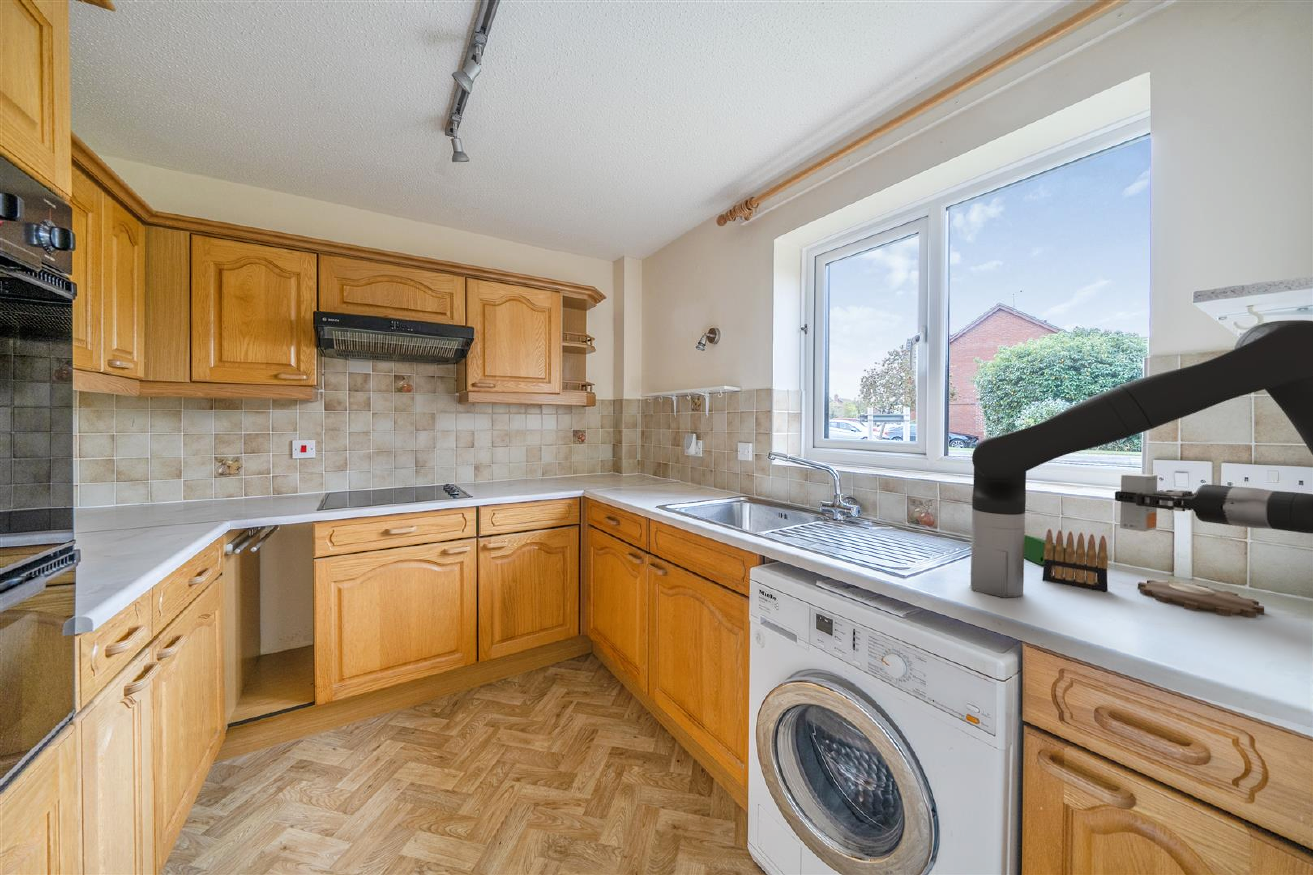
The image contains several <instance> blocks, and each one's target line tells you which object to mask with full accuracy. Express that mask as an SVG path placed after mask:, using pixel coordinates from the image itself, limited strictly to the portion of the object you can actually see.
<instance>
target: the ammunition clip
mask: <svg viewBox="0 0 1313 875" xmlns="http://www.w3.org/2000/svg"><path fill="white" fill-rule="evenodd" d="M1045 540H1046V542H1045V547H1044V565H1043V570H1042V581H1043V582H1047V583H1053V584H1059V585H1063V586H1067V587H1068V586H1069V587H1075V588H1080V589H1083V590H1091V591H1096V592H1100V593H1106V594H1107V593H1108V591H1109V590H1108V588H1109V587H1108V586H1109V585H1108V565H1109V564H1108V563H1109V562H1108V561H1109V560H1108V558H1109V557H1108V550H1107V545H1108V544H1107V541H1106V538H1105V535H1101V537H1100V538H1099V543H1098V551H1096V539H1095V536H1094V534H1093V533H1091V534H1090V535H1089V537H1088V540H1087V549H1086V548H1085V537H1084V535H1083V533H1082V532H1080V533H1079V534H1078V537H1077V540H1076V541H1077V542H1076V549H1075V542H1074V540H1075V539H1074V535H1073V533H1072V531H1069V532H1068V533H1067V536H1066V544H1065V548H1066V549H1065V560H1064V537H1063V532H1062V530H1061V529H1059V530H1058V531H1057V533H1056V539H1055V545H1056V546H1055V553H1054V548H1053V543H1054V541H1053V533H1052V530H1051V528H1048V529H1047V531H1046V537H1045Z"/></svg>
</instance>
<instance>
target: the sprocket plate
mask: <svg viewBox="0 0 1313 875" xmlns="http://www.w3.org/2000/svg"><path fill="white" fill-rule="evenodd" d="M1137 590H1139V594H1141V595H1142V596H1147V597H1149V596H1150V597H1153V598H1155V601H1156V602H1157V601H1158V602H1160V603H1162V604H1173V605H1176V606H1180V607H1183V608H1184V609H1186V610H1190V611H1194V612H1195V611H1196V612H1198V611H1203V612H1207V613H1208V612H1209V613H1214V612H1215V613H1214V614H1217V615H1218V616H1225V617H1231V616H1232V615H1237V616H1238V615H1239V616H1244V617H1246V618H1257V614H1259V615H1264V614H1265V606H1263V605H1260V602H1259V601H1257V600H1256V599H1253V598H1245V597H1242V596H1239V594H1238V593H1236V592H1232V591H1228V590H1226V591H1223V590H1219V589H1214V588H1210V587H1209V586H1206V585H1200V584H1196V585H1193V584H1188V583H1187V584H1186V583H1181V582H1179V581H1174V580H1168V581H1158V580H1153V579H1152V580H1151V579H1150V580H1149V579H1148V580H1146V582H1142V581H1139V582H1138V583H1137Z"/></svg>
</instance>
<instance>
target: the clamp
mask: <svg viewBox="0 0 1313 875" xmlns="http://www.w3.org/2000/svg"><path fill="white" fill-rule="evenodd" d="M1045 542H1046V539H1042V538H1039V537H1034V536H1030V535H1027V534H1025V539H1024V559H1027V560H1029V561H1031V562H1033V563H1036V564H1038V565H1041V566H1044V547H1045ZM1055 546H1056V542H1053V548H1054V553H1055ZM1063 547H1064V546H1063ZM1065 549H1066V546H1065V547H1064V560H1065Z"/></svg>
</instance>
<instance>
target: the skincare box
mask: <svg viewBox="0 0 1313 875" xmlns="http://www.w3.org/2000/svg"><path fill="white" fill-rule="evenodd" d="M1120 491H1124V492H1134V493H1139V492H1143V493H1153V492H1154V491H1158V474H1157V475H1156V474H1147V473H1146V474H1145V473H1144V474H1143V473H1126V474H1122V475H1121V477H1120ZM1145 502H1149V498H1148V497H1145ZM1157 513H1158V508H1154V507H1146V506H1138V505H1136V503H1129V502H1121V501H1120V516H1119V517H1120V521H1119V525H1120V527H1119V528H1120V529H1122V530H1123V529H1124V530H1131V531H1137V532H1148V531H1153V530H1157V518H1158V517H1157V515H1158V514H1157Z"/></svg>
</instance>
